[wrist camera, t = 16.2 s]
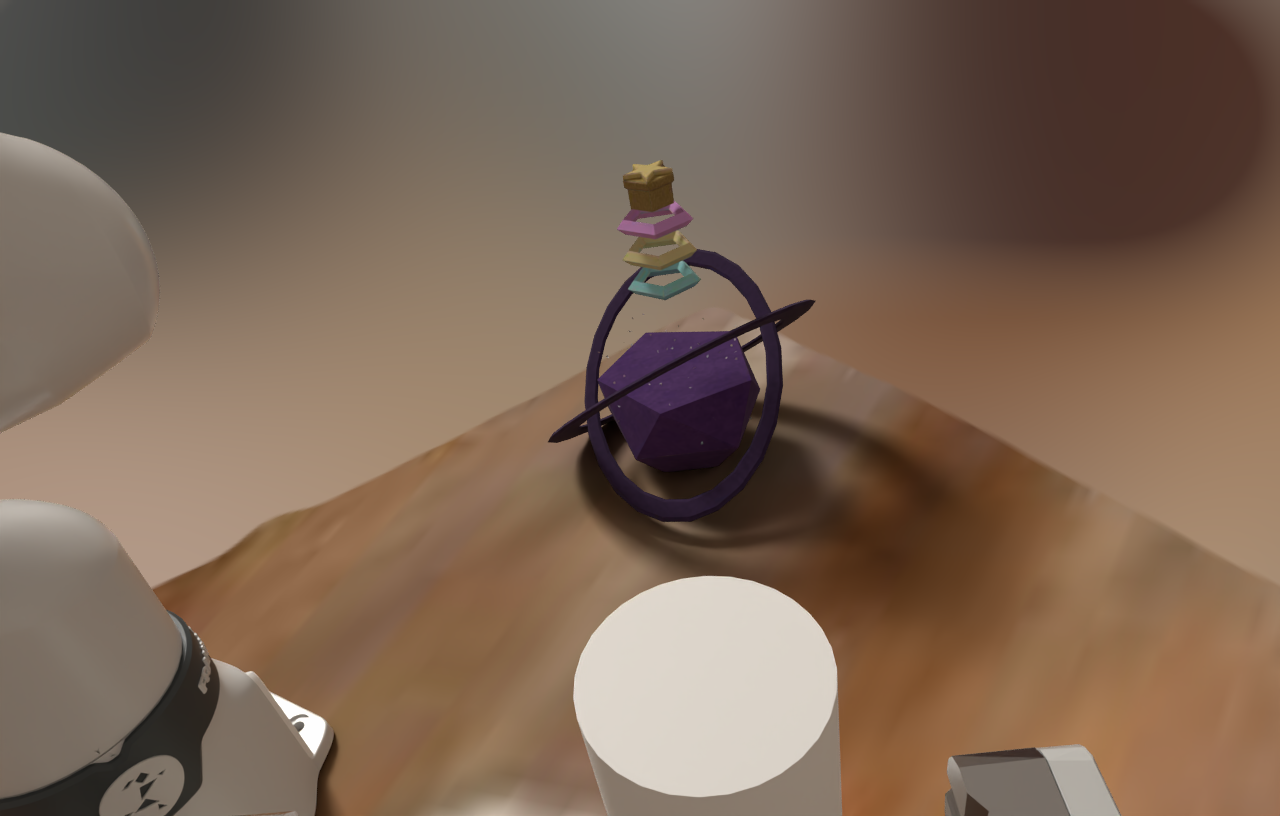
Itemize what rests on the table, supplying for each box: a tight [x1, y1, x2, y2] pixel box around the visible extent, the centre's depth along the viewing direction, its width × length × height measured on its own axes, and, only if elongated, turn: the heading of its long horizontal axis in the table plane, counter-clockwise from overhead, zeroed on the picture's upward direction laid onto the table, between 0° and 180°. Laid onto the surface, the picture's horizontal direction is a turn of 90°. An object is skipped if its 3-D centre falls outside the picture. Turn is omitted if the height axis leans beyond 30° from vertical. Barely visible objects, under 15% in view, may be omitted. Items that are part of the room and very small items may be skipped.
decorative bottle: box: [548, 160, 815, 522], centre depth 67 cm, size 22×21×25 cm
